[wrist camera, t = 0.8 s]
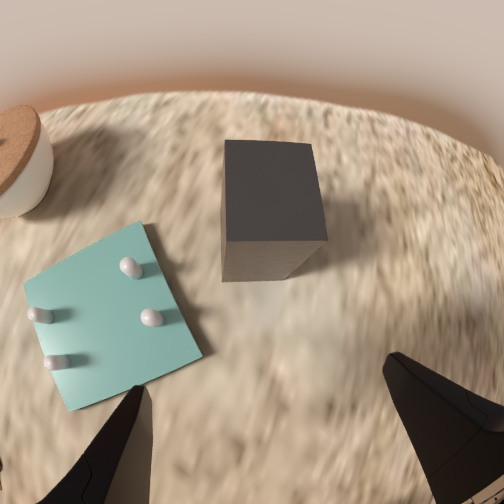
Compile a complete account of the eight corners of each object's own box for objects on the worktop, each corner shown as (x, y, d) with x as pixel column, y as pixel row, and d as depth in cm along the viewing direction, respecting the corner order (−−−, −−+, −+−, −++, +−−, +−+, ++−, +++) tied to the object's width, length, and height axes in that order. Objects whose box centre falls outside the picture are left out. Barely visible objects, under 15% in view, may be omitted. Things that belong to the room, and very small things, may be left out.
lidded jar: (10, 157, 24) (-27, 112, 15) (77, 139, 25) (46, 80, 16) (-11, 239, 21) (-64, 204, 12) (59, 229, 22) (4, 181, 13)
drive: (283, 280, 23) (327, 240, 14) (222, 282, 23) (226, 241, 13) (277, 212, 25) (310, 142, 16) (220, 212, 25) (224, 138, 15)
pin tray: (203, 355, 21) (200, 359, 18) (74, 409, 18) (55, 418, 14) (143, 224, 23) (132, 207, 20) (29, 285, 20) (7, 277, 17)
